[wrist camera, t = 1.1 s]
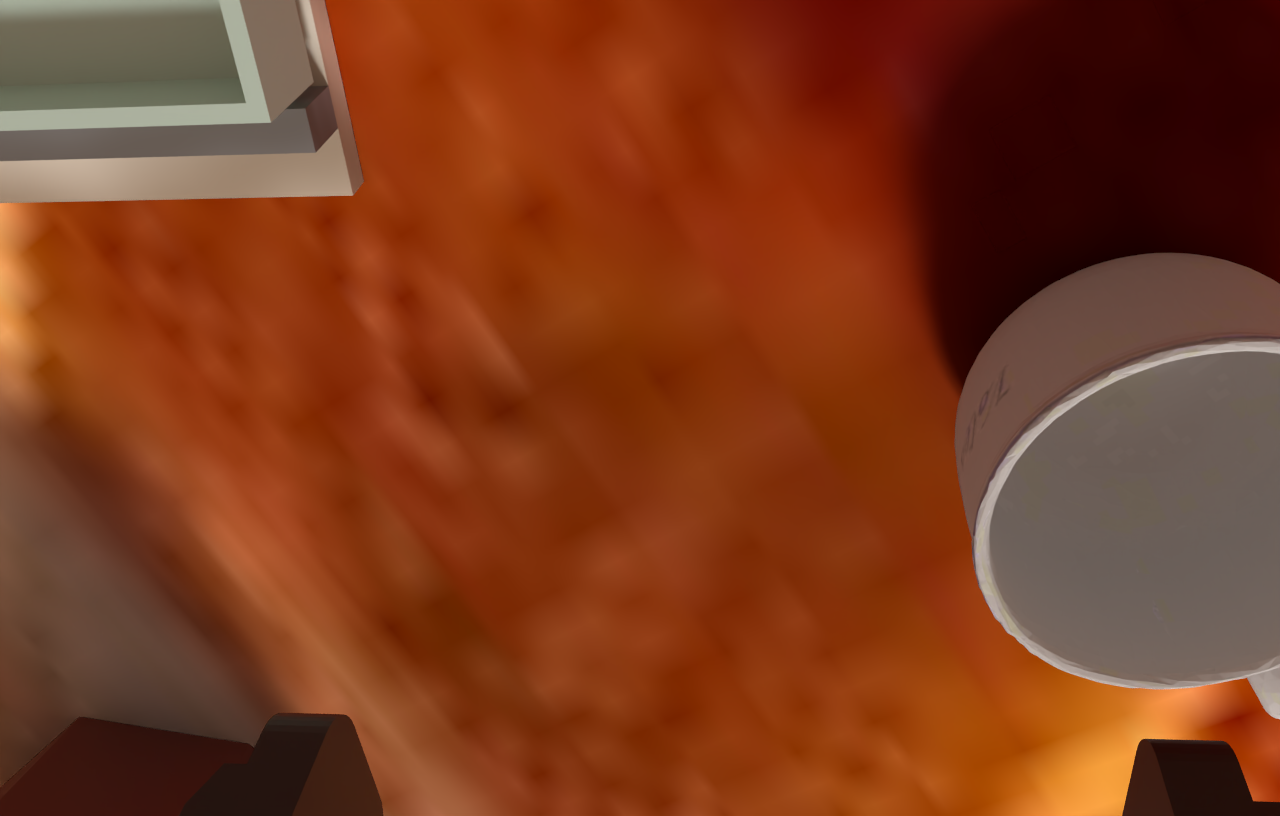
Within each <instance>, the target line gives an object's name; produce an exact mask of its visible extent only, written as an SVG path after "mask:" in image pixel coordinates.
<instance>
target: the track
mask: <svg viewBox="0 0 1280 816" xmlns="http://www.w3.org/2000/svg"><path fill="white" fill-rule="evenodd" d="M295 3H296V8H297V12H298V16H299V21H300V25H301V29H302V33H303V38H304V42H305V46H306V51H307V55H308V59H309V64H310V68H311V72H312V77H313V81H314V82H313V83H312V84H311V85H310V86H309V87H308V88H307V89H306V90H305V91H304V92H303V93H302V94H301V95H300V96H299V97H298V98H296V99H295V100H294V101H293V102H292V103H291V104H290V105H289V106H288V107H287V108H286V109H285V110H284V111H283V112H282V113H281V114H280V115H279V116H278V117H277V118H275V119H274V120H273V121H272V122H271V123H245V124H212V125H180V126H147V127H115V128H82V129H49V130H17V131H0V203H25V202H72V201H118V200H164V199H210V198H256V197H302V196H349V195H354V194H355V192H356V191H357V190H358V188H359V187H360V186H361V185H362V183H363V182H364V180H363V175H362V171H361V166H360V161H359V157H358V152H357V148H356V143H355V138H354V134H353V129H352V125H351V120H350V115H349V111H348V106H347V102H346V97H345V92H344V88H343V83H342V79H341V74H340V69H339V65H338V60H337V56H336V51H335V46H334V42H333V37H332V33H331V28H330V23H329V19H328V14H327V10H326V5H325V0H295Z"/></svg>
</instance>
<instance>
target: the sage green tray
mask: <svg viewBox="0 0 1280 816" xmlns="http://www.w3.org/2000/svg"><path fill="white" fill-rule="evenodd" d="M313 82H314V81H313V77H312V72H311V68H310V64H309V59H308V55H307V51H306V46H305V42H304V38H303V33H302V29H301V25H300V21H299V16H298V12H297V8H296V3H295V0H0V131H17V130H49V129H82V128H115V127H147V126H180V125H212V124H245V123H271V122H272V121H273V120H274V119H275V118H277V117H278V116H279V115H280V114H281V113H282V112H283V111H284V110H285V109H286V108H287V107H288V106H289V105H290V104H291V103H292V102H293V101H294V100H295V99H296V98H298V97H299V96H300V95H301V94H302V93H303V92H304V91H305V90H306V89H307V88H308V87H309V86H310V85H311V84H312V83H313Z"/></svg>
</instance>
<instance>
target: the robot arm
mask: <svg viewBox="0 0 1280 816" xmlns="http://www.w3.org/2000/svg"><path fill="white" fill-rule="evenodd" d="M179 816H383V808H382V802H381V799H380V796H379V793H378V790H377V788H376V785H375V782H374V779H373V776H372V774H371V771H370V768H369V765H368V763H367V760H366V757H365V754H364V752H363V749H362V746H361V743H360V740H359V738H358V735H357V732H356V729H355V727H354V724H353V722H352V720H351V719H350V718H349V717H348V716H347V715H342V714H304V713H278V714H276V715H274V716H273V717H272V718H271V719H270V720H269V721H268V723H267V724H266V726H265V728H264V729H263V731H262V733H261V735H260V738H259V740H258V742H257V744H256V746H255V748H254V750H253V752H252V754H251V757H250V759H249V761H248V763H247V764H233V763H224V764H223V765H222V766H221V767H220V768H219V769H218V770H217V771H216V772H215V773H214V774H213V775H212V776H211V777H210V779H209V780H208V781H207V782H206V783H205V784H204V785H203V786H202V787H201V788H200V789H199V790H198V791H197V792H196V793H195V794H194V795H193V796H192V797H191V798H190V799H189V800H188V801H187V802H186V803H185V805H184V807H183V809H182V811H181V813H180V815H179ZM1122 816H1280V802H1256V801H1253V800H1252V797H1251V794H1250V792H1249V789H1248V786H1247V783H1246V781H1245V778H1244V775H1243V773H1242V770H1241V767H1240V764H1239V762H1238V759H1237V757H1236V755H1235V753H1234V751H1233V749H1232V748H1231V747H1230V745H1229V744H1227V743H1226V742H1224V741H1203V740H1166V739H1143V740H1141V741H1140V743H1139V745H1138V748H1137V751H1136V756H1135V761H1134V765H1133V770H1132V774H1131V779H1130V783H1129V788H1128V792H1127V797H1126V801H1125V806H1124V810H1123V815H1122Z"/></svg>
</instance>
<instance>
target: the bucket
mask: <svg viewBox="0 0 1280 816" xmlns="http://www.w3.org/2000/svg"><path fill="white" fill-rule="evenodd" d="M253 750H254V748H253V747H252V746H251V745H250V744H246V743H240V742H234V741H227V740H221V739H215V738H209V737H203V736H196V735H190V734H184V733H178V732H171V731H165V730H159V729H153V728H147V727H140V726H134V725H128V724H122V723H116V722H109V721H103V720H97V719H91V718H85V717H79V718H78V719H77V720H75V721H74V722H73V723H72V724H71V725H70V726H69V727H68V728H67V729H65V730H64V731H63V732H62V733H61V734H60V735H59V736H58V737H56V738H55V739H54V740H53V741H52V742H51V743H50V744H49V745H48V746H46V747H45V748H44V749H43V750H42V751H41V752H40V753H39V754H38V755H36V756H35V757H34V758H33V759H32V760H31V761H30V762H29V763H27V764H26V765H25V766H24V767H23V768H22V769H21V770H20V771H19V772H17V773H16V774H15V775H14V776H13V777H12V778H11V779H10V780H8V781H7V782H6V783H5V784H4V785H3V786H2V787H1V788H0V816H179V815H180V813H181V811H182V809H183V807H184V805H185V803H186V802H187V801H188V800H189V799H190V798H191V797H192V796H193V795H194V794H195V793H196V792H197V791H198V790H199V789H200V788H201V787H202V786H203V785H204V784H205V783H206V782H207V781H208V780H209V779H210V777H211V776H212V775H213V774H214V773H215V772H216V771H217V770H218V769H219V768H220V767H221V766H222V765H223V764H224V763H233V764H247V763H248V761H249V759H250V757H251V754H252V752H253Z"/></svg>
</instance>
